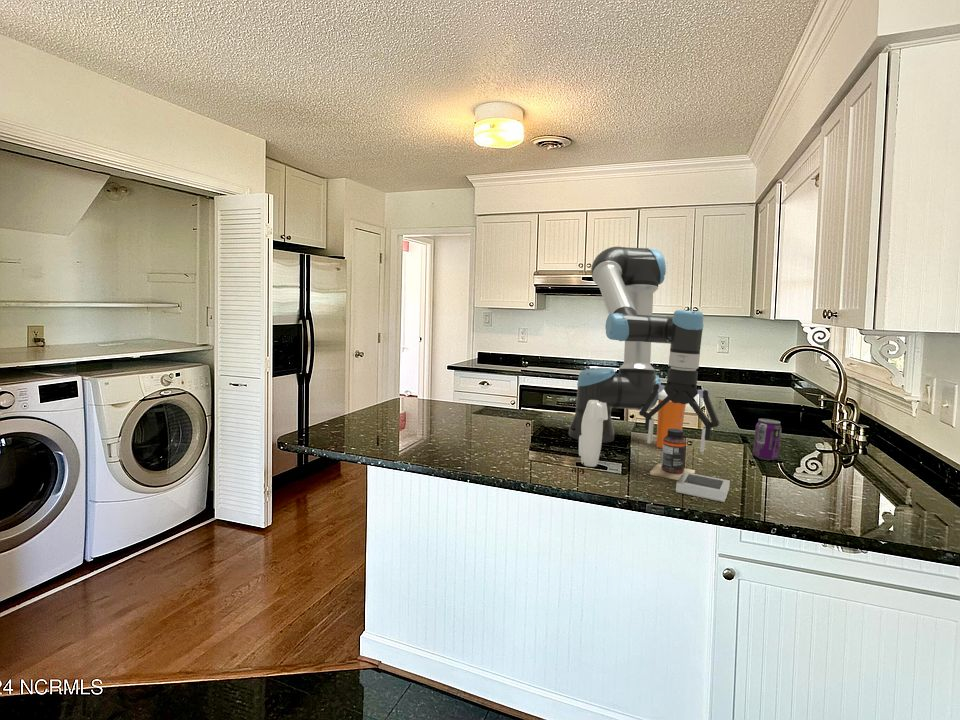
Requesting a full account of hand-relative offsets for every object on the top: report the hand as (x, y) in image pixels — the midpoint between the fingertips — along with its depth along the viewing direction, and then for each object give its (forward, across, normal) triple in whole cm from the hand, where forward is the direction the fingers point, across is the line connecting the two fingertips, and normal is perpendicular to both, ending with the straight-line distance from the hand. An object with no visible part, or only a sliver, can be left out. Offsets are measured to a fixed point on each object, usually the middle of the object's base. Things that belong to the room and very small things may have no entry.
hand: (675, 446), depth 150 cm
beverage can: (+8, +21, +38) cm, 44 cm away
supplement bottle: (+7, 0, 0) cm, 7 cm away
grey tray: (+8, +9, -10) cm, 15 cm away
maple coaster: (+8, 0, 0) cm, 8 cm away
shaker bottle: (+8, -7, +30) cm, 32 cm away
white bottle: (+8, -21, -7) cm, 23 cm away
